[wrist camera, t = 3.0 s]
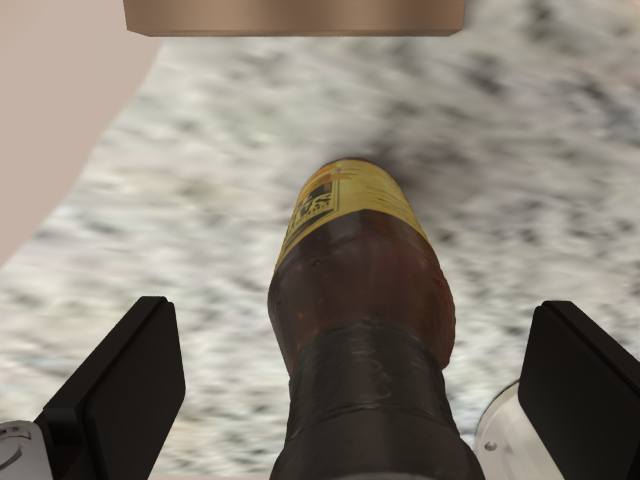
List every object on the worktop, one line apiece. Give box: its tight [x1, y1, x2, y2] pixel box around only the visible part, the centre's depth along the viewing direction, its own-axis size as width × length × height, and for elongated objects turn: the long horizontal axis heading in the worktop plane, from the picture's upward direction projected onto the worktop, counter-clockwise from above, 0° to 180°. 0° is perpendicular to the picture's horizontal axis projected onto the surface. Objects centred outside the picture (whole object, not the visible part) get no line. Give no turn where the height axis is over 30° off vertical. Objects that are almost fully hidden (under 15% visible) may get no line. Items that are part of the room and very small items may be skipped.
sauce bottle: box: [267, 158, 486, 480], centre depth 16 cm, size 6×6×20 cm
